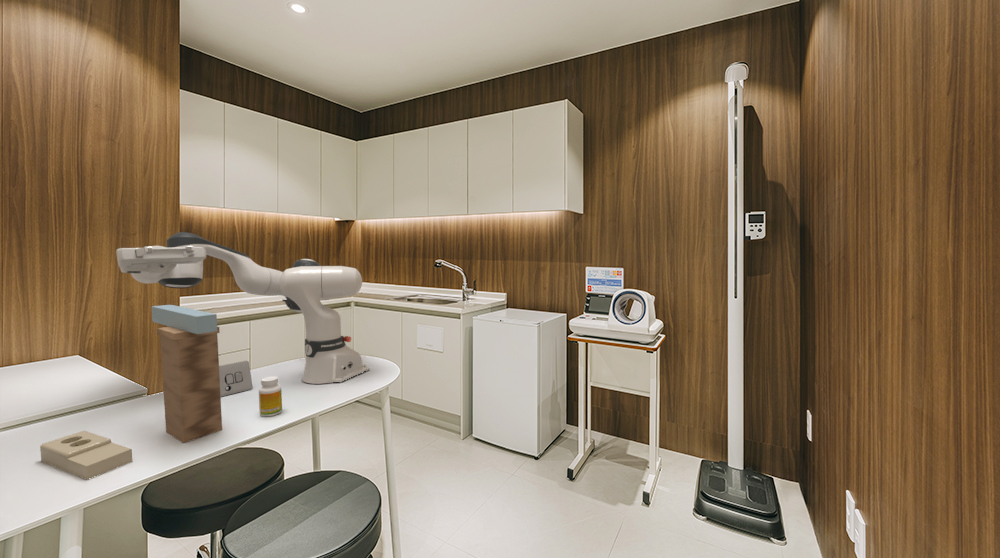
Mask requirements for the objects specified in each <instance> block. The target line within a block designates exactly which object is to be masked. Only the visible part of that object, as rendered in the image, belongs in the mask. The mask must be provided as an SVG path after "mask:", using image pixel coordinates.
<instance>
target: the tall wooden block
mask: <svg viewBox="0 0 1000 558" xmlns="http://www.w3.org/2000/svg"><path fill="white" fill-rule="evenodd" d="M220 332H221V331H220V326H218V325H217V331H215V332H208V333H202V334H194V333H191V332H187V331H184V330H180V329H177V328H173V327H169V326H165V327H157V328H156V333H157V336H160V337H159V338H160V339H159V340H160V353H161V355H160V356H161V371H162V372H161V373H162V386H163V401H164V403H163V405H164V419H165V432H166V433H167V434H168V435H170V436H172V437H173V438H175V439H176V440H178V441H180V442H181V443H183V444H184V443H189V442H191V441H193V440H197V439H200V438H202V437H206V436H208V435H211V434H213V433H217V432H220V431H222V430H223V420H222V418H223V417H222V400H221V399H222V398H221V396H220V377H219V366H220V364H219V363H220V361H219V359H220V358H219V357H220V356H219V339H218V334H220Z"/></svg>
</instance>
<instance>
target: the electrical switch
mask: <svg viewBox="0 0 1000 558" xmlns="http://www.w3.org/2000/svg"><path fill="white" fill-rule="evenodd" d="M219 377H220V396H221V397H227V396H230V395H233V394H237V393H241V392H245V391H249V390H252V389H253V381H252V374H251V368H250V361H248V360H242V361H238V362H231V363H227V364H223V365H222V364H221V365H219ZM227 388H228V389H227Z"/></svg>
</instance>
